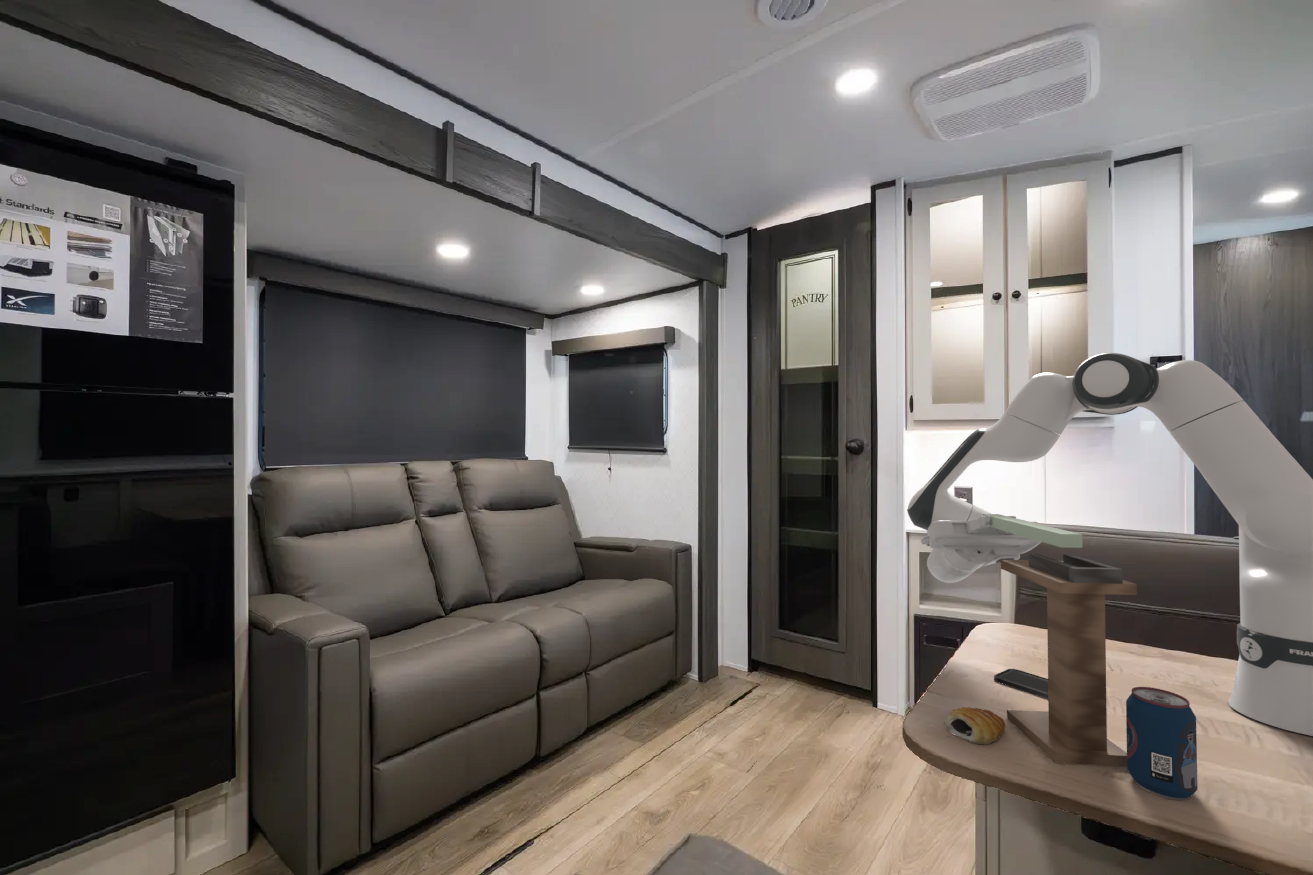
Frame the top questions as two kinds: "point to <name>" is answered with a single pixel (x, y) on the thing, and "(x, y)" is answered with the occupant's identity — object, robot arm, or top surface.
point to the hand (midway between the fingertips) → (1000, 519)
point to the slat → (1037, 531)
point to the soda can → (1161, 743)
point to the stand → (1073, 659)
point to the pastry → (975, 725)
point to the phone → (1024, 681)
